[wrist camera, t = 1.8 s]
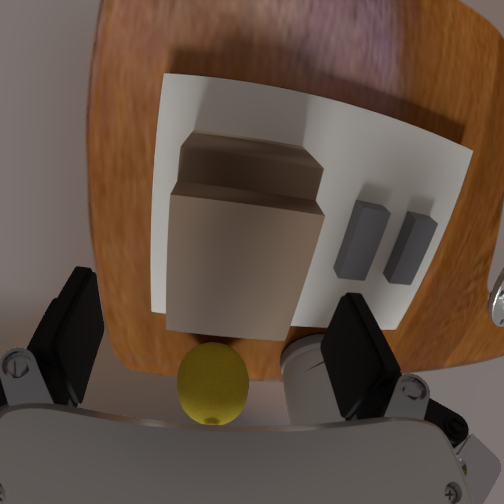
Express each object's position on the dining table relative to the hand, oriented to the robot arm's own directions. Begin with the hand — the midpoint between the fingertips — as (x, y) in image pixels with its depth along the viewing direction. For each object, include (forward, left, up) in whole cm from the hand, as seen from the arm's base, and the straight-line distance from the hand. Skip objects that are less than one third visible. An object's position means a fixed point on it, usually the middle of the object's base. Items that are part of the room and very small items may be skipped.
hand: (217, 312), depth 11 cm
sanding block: (-1, -1, -8) cm, 8 cm away
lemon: (-9, +8, -10) cm, 16 cm away
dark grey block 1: (-6, -6, -8) cm, 12 cm away
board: (-4, -4, -10) cm, 11 cm away
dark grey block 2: (-9, -9, -8) cm, 15 cm away
